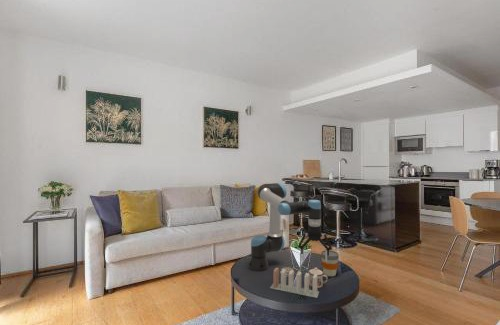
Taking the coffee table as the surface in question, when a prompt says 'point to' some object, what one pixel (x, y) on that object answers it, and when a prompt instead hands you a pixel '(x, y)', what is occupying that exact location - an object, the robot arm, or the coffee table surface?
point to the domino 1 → (275, 277)
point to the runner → (295, 290)
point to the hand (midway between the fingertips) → (314, 260)
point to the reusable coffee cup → (330, 263)
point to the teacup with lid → (319, 277)
